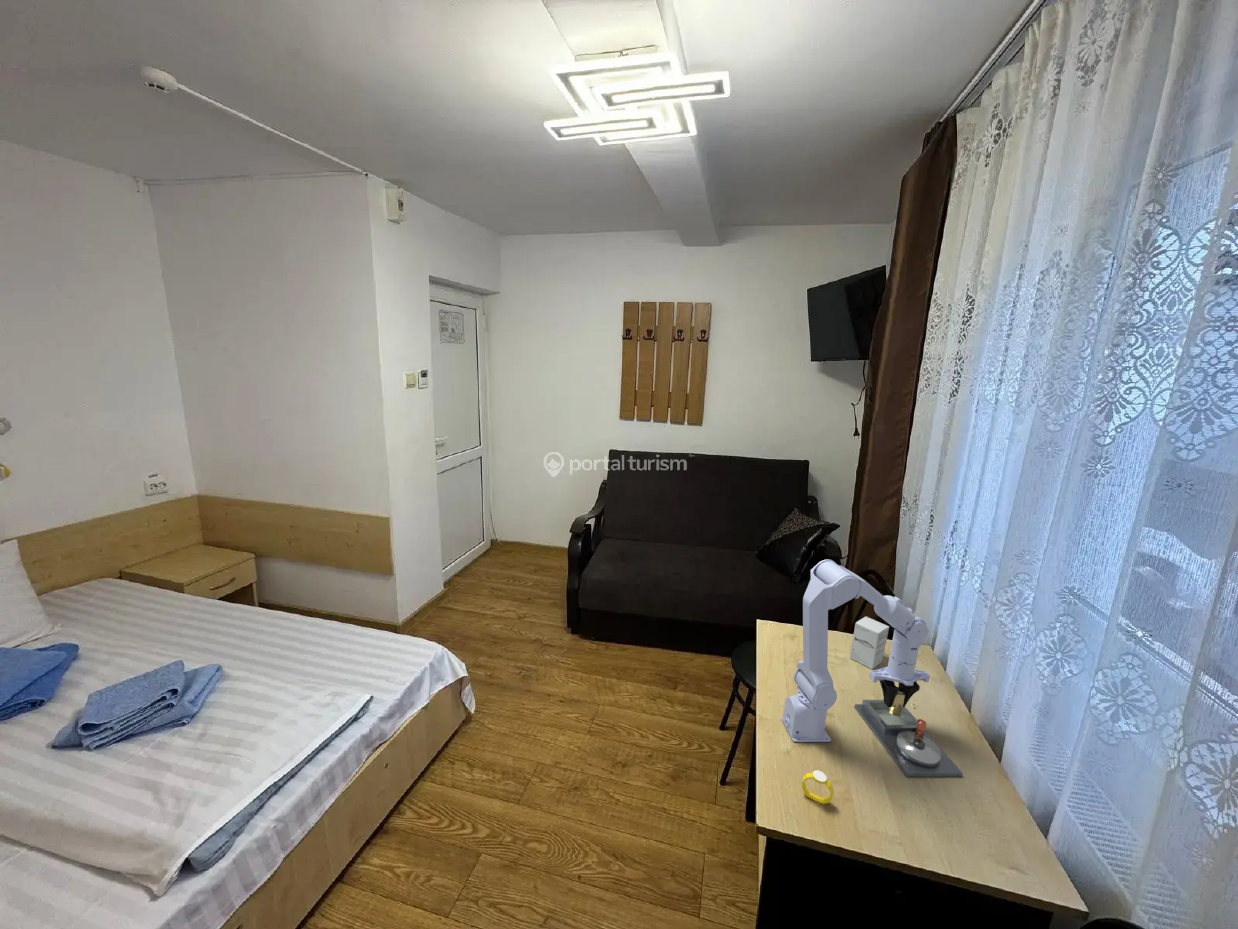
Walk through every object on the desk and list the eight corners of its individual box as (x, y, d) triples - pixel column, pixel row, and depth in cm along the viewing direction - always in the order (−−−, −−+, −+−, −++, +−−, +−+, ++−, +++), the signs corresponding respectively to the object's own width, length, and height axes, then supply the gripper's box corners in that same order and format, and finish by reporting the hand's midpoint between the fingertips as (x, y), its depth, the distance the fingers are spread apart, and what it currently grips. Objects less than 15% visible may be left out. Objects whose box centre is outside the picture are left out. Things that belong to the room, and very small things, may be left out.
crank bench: (906, 777, 107) (909, 762, 106) (854, 707, 128) (856, 694, 127) (961, 776, 108) (965, 761, 107) (900, 707, 129) (902, 694, 128)
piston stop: (890, 715, 121) (894, 692, 119) (886, 706, 123) (890, 684, 122) (902, 717, 120) (907, 694, 119) (898, 709, 123) (903, 686, 121)
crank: (940, 773, 107) (945, 752, 106) (894, 754, 112) (898, 734, 110) (939, 747, 114) (944, 727, 113) (897, 730, 119) (900, 711, 118)
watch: (830, 801, 100) (836, 778, 99) (828, 811, 98) (835, 788, 97) (801, 786, 103) (806, 764, 102) (798, 796, 101) (804, 773, 99)
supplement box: (848, 658, 150) (854, 622, 148) (859, 650, 155) (865, 615, 152) (872, 670, 145) (878, 633, 142) (883, 662, 149) (889, 625, 147)
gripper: (884, 667, 115) (875, 716, 118) (942, 667, 116) (931, 716, 119) (868, 650, 122) (860, 696, 124) (922, 650, 123) (913, 696, 125)
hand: (894, 704), depth 122 cm, fingers closed on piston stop, 3 cm apart
